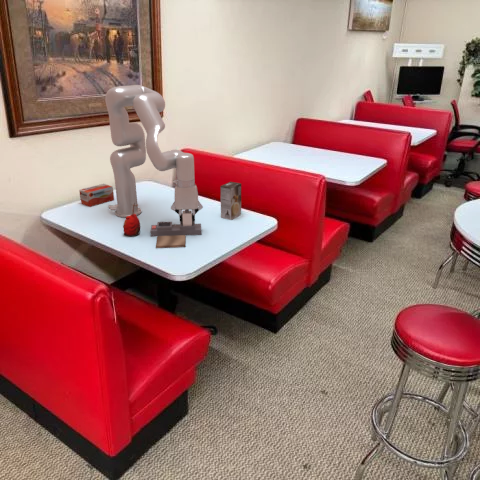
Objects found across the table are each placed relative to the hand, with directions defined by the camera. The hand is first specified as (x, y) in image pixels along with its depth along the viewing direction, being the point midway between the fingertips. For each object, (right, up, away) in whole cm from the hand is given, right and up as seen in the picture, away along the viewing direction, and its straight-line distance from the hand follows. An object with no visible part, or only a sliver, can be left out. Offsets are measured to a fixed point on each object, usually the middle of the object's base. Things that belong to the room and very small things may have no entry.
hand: (187, 222), depth 190 cm
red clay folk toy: (-24, -5, -1) cm, 24 cm away
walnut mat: (-6, -9, -8) cm, 13 cm away
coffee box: (+19, +4, +20) cm, 28 cm away
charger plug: (0, -2, +1) cm, 2 cm away
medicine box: (-52, +12, +37) cm, 65 cm away
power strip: (-5, -4, +1) cm, 7 cm away
